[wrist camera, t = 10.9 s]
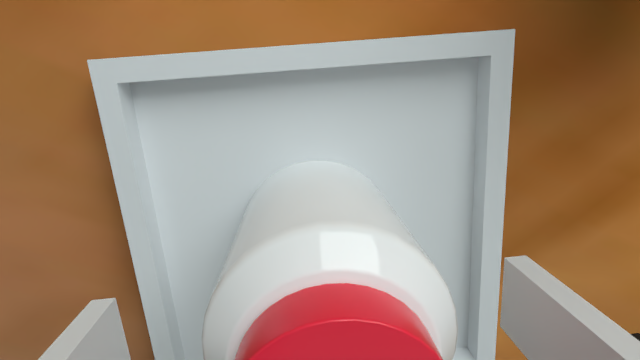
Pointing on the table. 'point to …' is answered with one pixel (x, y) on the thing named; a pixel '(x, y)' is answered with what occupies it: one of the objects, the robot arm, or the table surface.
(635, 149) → the table surface
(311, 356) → the pill bottle
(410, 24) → the table surface
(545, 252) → the table surface
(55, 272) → the table surface
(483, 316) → the tray
